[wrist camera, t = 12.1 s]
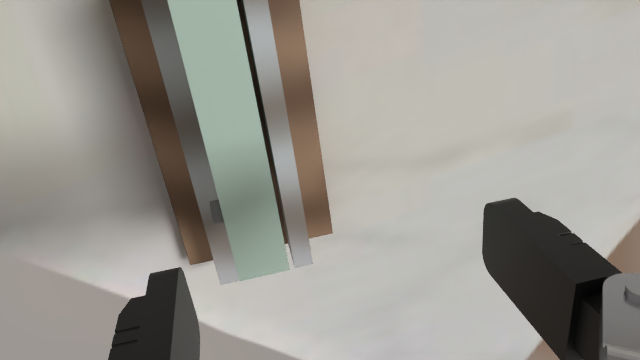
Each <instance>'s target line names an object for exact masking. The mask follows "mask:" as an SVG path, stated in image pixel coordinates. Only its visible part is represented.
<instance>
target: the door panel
mask: <svg viewBox="0 0 640 360" xmlns="http://www.w3.org/2000/svg"><path fill="white" fill-rule="evenodd" d="M167 1H168V5H169V9H170V13H171V17H172V20H173V24H174V28H175V32H176V36H177V40H178V44H179V48H180V52H181V55H182V59H183V63H184V67H185V71H186V75H187V79H188V83H189V87H190V90H191V94H192V98H193V102H194V106H195V110H196V114H197V118H198V122H199V125H200V129H201V133H202V137H203V141H204V145H205V149H206V153H207V157H208V160H209V164H210V168H211V172H212V176H213V180H214V184H215V188H216V192H217V195H218V200H213V201H210V210H211V215H212V219H213V222H214V224H218V223H223V222H224V223H225V227H226V230H227V234H228V238H229V242H230V246H231V250H232V254H233V258H234V262H235V265H236V269H237V273H238V277H239V281H243V280H247V279H252V278H256V277H260V276H265V275H269V274H273V273H278V272H282V271H286V270H290V269H289V264H288V258H287V253H286V248H285V243H284V238H283V233H282V228H281V223H280V218H279V213H278V208H277V203H276V198H275V193H274V188H273V183H272V178H271V173H270V168H269V163H268V157H267V152H266V147H265V142H264V137H263V132H262V127H261V122H260V117H259V112H258V107H257V102H256V97H255V92H254V87H253V82H252V77H251V72H250V67H249V61H248V56H247V51H246V46H245V41H244V36H243V31H242V26H241V21H240V16H239V11H238V6H237V1H236V0H167Z"/></svg>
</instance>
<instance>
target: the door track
mask: <svg viewBox="0 0 640 360" xmlns="http://www.w3.org/2000/svg"><path fill="white" fill-rule="evenodd" d="M109 1H110V4H111V8H112V11H113V14H114V17H115V21H116V24H117V27H118V31H119V34H120V37H121V40H122V44H123V47H124V50H125V53H126V57H127V60H128V63H129V66H130V70H131V73H132V76H133V79H134V83H135V86H136V89H137V92H138V96H139V99H140V102H141V105H142V109H143V112H144V115H145V119H146V122H147V125H148V128H149V132H150V135H151V138H152V141H153V145H154V148H155V151H156V154H157V158H158V161H159V164H160V167H161V171H162V174H163V177H164V180H165V184H166V187H167V190H168V194H169V197H170V200H171V203H172V207H173V210H174V213H175V216H176V220H177V223H178V226H179V229H180V233H181V236H182V239H183V242H184V246H185V249H186V252H187V255H188V259H189V262H190V265H193V264H198V263H202V262H206V261H211V260H214V263H215V267H216V270H217V274H218V278H219V281H220V285H223V284H227V283H232V282H236V281H239V277H238V273H237V269H236V265H235V262H234V258H233V254H232V250H231V246H230V242H229V238H228V234H227V230H226V227H225V223H224V222H223V223H218V224H214V222H213V219H212V215H211V210H210V201H213V200H218V195H217V192H216V188H215V184H214V180H213V176H212V172H211V168H210V164H209V160H208V157H207V153H206V149H205V145H204V141H203V137H202V133H201V129H200V125H199V122H198V118H197V114H196V110H195V106H194V102H193V98H192V94H191V90H190V87H189V83H188V79H187V75H186V71H185V67H184V63H183V59H182V55H181V52H180V48H179V44H178V40H177V36H176V32H175V28H174V24H173V20H172V17H171V13H170V9H169V5H168V1H167V0H109ZM236 1H237V6H238V11H239V16H240V21H241V26H242V31H243V36H244V41H245V46H246V51H247V56H248V61H249V67H250V72H251V77H252V82H253V87H254V92H255V97H256V102H257V107H258V112H259V117H260V122H261V127H262V132H263V137H264V142H265V147H266V152H267V157H268V163H269V168H270V173H271V178H272V183H273V188H274V193H275V198H276V203H277V208H278V213H279V218H280V223H281V228H282V233H283V238H284V243H285V244H287V243H288V244H289V248H290V252H291V256H292V259H293V263H294V267H295V268H297V267H301V266H305V265H310V264H313V262H312V256H311V250H310V244H309V238H313V237H318V236H322V235H327V234H331V233H333V232H332V225H331V218H330V211H329V204H328V197H327V190H326V183H325V176H324V169H323V162H322V155H321V149H320V142H319V135H318V128H317V121H316V114H315V107H314V100H313V93H312V86H311V79H310V72H309V65H308V58H307V51H306V45H305V38H304V31H303V24H302V17H301V10H300V3H299V0H236Z"/></svg>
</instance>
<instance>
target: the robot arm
mask: <svg viewBox="0 0 640 360" xmlns="http://www.w3.org/2000/svg"><path fill="white" fill-rule="evenodd" d="M482 254H483V260H484V263H485V266H486V268H487V270H488V272H489V274H490V275H491V276H492V277H493V279H494V280H495V281H496V282H497V284H498V285H499V286H500V287H501V288H502V290H503V291H504V292H505V293H506V294H507V296H508V297H509V298H510V299H511V301H512V302H513V303H514V304H515V305H516V307H517V308H518V309H519V310H520V311H521V313H522V314H523V315H524V316H525V318H526V319H527V320H528V321H529V322H530V324H531V325H532V326H533V327H534V328H535V330H536V331H537V332H538V333H539V335H540V336H541V337H542V338H543V339H544V341H545V342H546V343H547V344H548V345H549V347H550V348H551V349H552V350H553V352H554V353H555V354H556V355H557V356H558V358H559V359H560V360H640V274H635V273H622V272H620V271H619V270H618V269H617V268H615V267H614V266H613V265H612V264H611V263H609V262H608V261H607V260H606V259H605V258H603V257H602V256H601V255H600V254H598V253H597V252H596V251H595V250H594V249H592V248H591V247H590V246H589V245H588V244H586V243H583V242H582V240H581V239H580V238H579V237H578V236H577V235H575V234H574V233H573V234H572V233H571V231H570V230H569V229H568V228H567V227H566V226H564V225H563V224H562V223H561V222H560V221H558V220H557V219H554V218H552V217H550V216H547V215H545V214H543V213H540V212H532V211H531V210H530V209H529V208H528V207H527V206H525V205H524V204H523V203H522V202H521V201H520V200H518V199H517V198H510V199H506V200H501V201H496V202H491V203H487V204H486V205H485V208H484V220H483V246H482ZM199 357H200V333H199V325H198V319H197V315H196V311H195V308H194V305H193V302H192V298H191V295H190V292H189V288H188V285H187V282H186V278H185V275H184V272H183V270H182V268H181V267H179V268H174V269H170V270H165V271H160V272H155V273H151V274H150V275H149V279H148V285H147V291H146V295H145V296H141V297H136V298H131V299H130V301H129V302H128V304H127V305H126V306H125V308H124V309H123V310H122V311H121V313H120V314H119V317H118V321H117V325H116V329H115V335H114V337H113V342H112V349H111V350H110V354H109V358H108V360H199Z"/></svg>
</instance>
